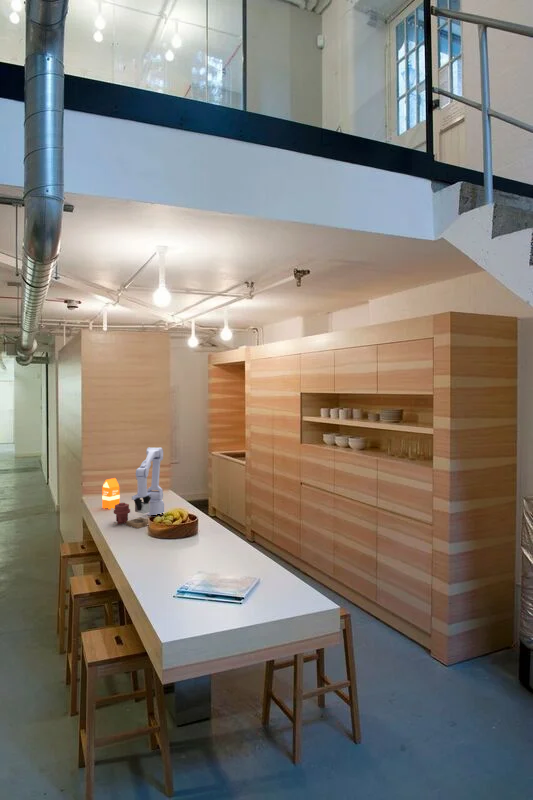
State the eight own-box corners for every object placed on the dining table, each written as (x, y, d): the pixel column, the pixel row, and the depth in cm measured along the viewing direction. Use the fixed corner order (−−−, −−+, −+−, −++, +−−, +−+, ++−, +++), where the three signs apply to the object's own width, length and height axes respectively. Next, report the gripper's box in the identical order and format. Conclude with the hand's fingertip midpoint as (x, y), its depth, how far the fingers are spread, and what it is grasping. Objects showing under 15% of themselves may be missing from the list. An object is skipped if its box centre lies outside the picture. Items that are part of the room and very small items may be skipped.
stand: (140, 521, 328) (140, 517, 328) (152, 524, 322) (152, 520, 321) (126, 525, 320) (126, 521, 319) (137, 528, 313) (137, 524, 313)
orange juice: (119, 506, 366) (119, 478, 365) (109, 509, 358) (109, 480, 357) (112, 505, 370) (111, 477, 369) (102, 507, 362) (101, 479, 362)
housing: (149, 512, 322) (149, 502, 321) (143, 513, 318) (143, 504, 318) (140, 510, 326) (140, 501, 326) (135, 511, 323) (135, 502, 323)
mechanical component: (117, 520, 330) (132, 521, 329) (111, 525, 320) (126, 525, 319) (117, 501, 329) (132, 501, 328) (110, 505, 319) (126, 505, 318)
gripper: (147, 484, 330) (147, 506, 330) (128, 488, 318) (128, 510, 319) (154, 486, 325) (154, 507, 326) (135, 489, 314) (136, 512, 314)
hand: (142, 509), depth 322 cm, fingers closed on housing, 4 cm apart
